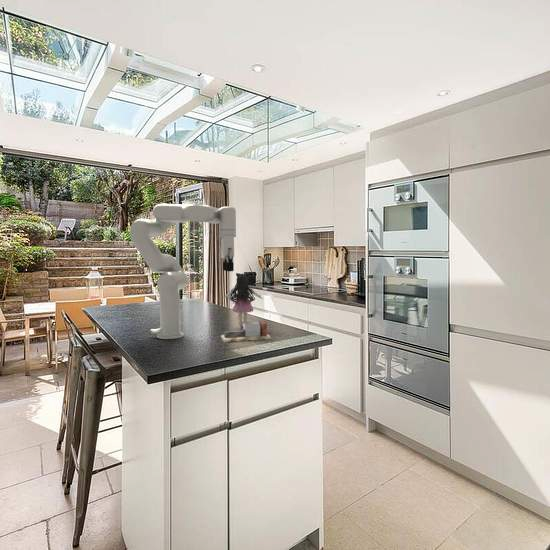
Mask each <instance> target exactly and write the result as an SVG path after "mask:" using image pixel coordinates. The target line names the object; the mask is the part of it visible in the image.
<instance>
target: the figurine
mask: <svg viewBox="0 0 550 550" xmlns="http://www.w3.org/2000/svg"><path fill="white" fill-rule="evenodd" d="M235 276H236V283H235V285H234V287H233V288H232V289H231V290H230V291H229V292H228V293H227V294H225V296H223V299H227V298H228V297H229V301H231V302H232V305H234V306H233V307H232V309H231V311H232V312H234V313H237V314H238V325H239V329H243V328H242V327H243V322H248V321H247V320H248V313H253V312H254V307H253V306H252V302H254V301H255V300H256V298H255V297H257V298H259V299H261V300H264V297H262V295H261V294H259V293H257V292H256V291H255V290H253V289H252V287H251V286H250V285H249V276H250V273H249V272H248V273H247V272H246V273H235ZM254 296H255V297H254Z"/></svg>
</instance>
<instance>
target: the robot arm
mask: <svg viewBox="0 0 550 550" xmlns="http://www.w3.org/2000/svg"><path fill="white" fill-rule="evenodd" d="M236 214H237V209H236V208H235V207H233V206H222V207H220V208H218V207H214V206H211V205H208V204H177V203H175V204H172V203H171V204H170V203H159V204H156V205H155V206H154V207H153V209H152V216H153V218H155V219H148V218H139V219H136V220H134V221H133V222H132V224H131V226H130V230H129V231H130V232H129V235H130V240H131V242H132V243H133V246H134V247H135V248H136V250H137V251H138V253H139V254H140V255H141V257H142V258H143V260H144V261H145V264H146V265H147V266H148V268H149V269H150V271H151V272H152V273H155V274H160V275H159V276H158V279H157V289H158V295H159V317H160V318H159V320H160V321H159V322H160V326H159V327H158V328H155V329H154V328H153V329H150V334H155V335H156V334H157V335H156V336H157V337H156V338H157V339H161V340H176V339H180V338H183V337H185V333H184V332H183V331H181V330H182V326H181V325H182V324H181V323H182V322H181V319H182V318H181V297H180V294H179V290H183V289H185V288H186V287H187V285H188V283H189V281H188V276H187V274H186V273H185V271H184V269H183V268H182V267H181V265H180V263H179V262H178V261H177V259H176V258H175V257H174V256H173V255H171V254H168V253H162V252H161V250H160V249H159V248H158V246H157V245H156V243H155V242H154V241H153V240H152V239H151V238H159V237H160V236H162V235H163V234H164V233H165V232H166V231H167V230H169V229H170V228H171V227H172V226H173V225H174V224H175V223H177V224H179V223H180V224H181V223H182V224H185V223H187V222H200V223H208V224H213V225H216V224H217V225H218V224H219V238H221V240H220V241H221V242H220V245H221V246H220V258H221V259H222V260H223V261H222V271H226V272H234V271H235V269H234V266H235V265H234V257H235V238H237V215H236Z"/></svg>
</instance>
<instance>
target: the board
mask: <svg viewBox="0 0 550 550" xmlns="http://www.w3.org/2000/svg"><path fill="white" fill-rule="evenodd" d="M258 323H260V336H258V337H245V330H243V329H242V330H227V331H224V333H223V334H222V335H220V339H221V338H222V339H221V340H222V341H223V343H232V342H231V341H237V342H249V341H248V340H251V341H263V339H265V340H271V339H272V337H271V335H269V334H268V331H267V330H268V327H267V325H268V323H267V322H265V321H263V320H261V321H260V320H259V321H258Z"/></svg>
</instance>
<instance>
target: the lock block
mask: <svg viewBox="0 0 550 550" xmlns="http://www.w3.org/2000/svg"><path fill="white" fill-rule="evenodd" d="M242 322H243V324H242V325H243V328H242V330H245V337H258V336H260V323H259V321H247V322H244V321H242Z"/></svg>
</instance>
